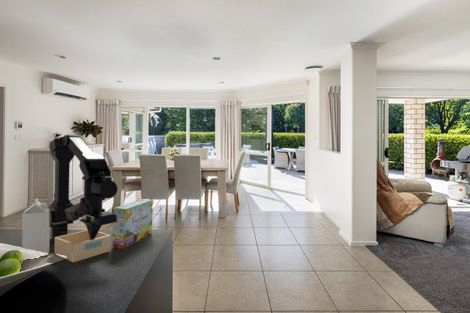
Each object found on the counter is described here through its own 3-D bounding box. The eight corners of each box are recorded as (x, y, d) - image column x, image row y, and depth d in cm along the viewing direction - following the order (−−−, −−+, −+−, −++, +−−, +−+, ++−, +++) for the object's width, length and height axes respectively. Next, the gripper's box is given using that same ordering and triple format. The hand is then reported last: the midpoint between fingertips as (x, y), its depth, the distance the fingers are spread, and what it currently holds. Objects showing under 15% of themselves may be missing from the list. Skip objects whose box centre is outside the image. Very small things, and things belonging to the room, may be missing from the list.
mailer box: (54, 254, 104) (54, 237, 104) (90, 244, 115) (90, 229, 115) (71, 262, 98) (71, 243, 98) (108, 251, 109) (108, 234, 109)
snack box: (125, 249, 111) (125, 208, 110) (111, 248, 112) (111, 207, 111) (152, 233, 132) (152, 198, 131) (140, 232, 133) (141, 198, 132)
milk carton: (22, 259, 99) (21, 202, 99) (25, 252, 106) (25, 198, 105) (47, 256, 103) (47, 200, 102) (49, 249, 109) (49, 197, 108)
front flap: (72, 261, 98) (73, 244, 97) (108, 250, 109) (110, 234, 108) (73, 262, 97) (74, 244, 97) (109, 251, 108) (111, 235, 108)
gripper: (54, 193, 100) (53, 240, 101) (85, 201, 90) (84, 253, 91) (86, 189, 110) (86, 232, 110) (118, 196, 99) (117, 243, 100)
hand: (92, 240), depth 103 cm, fingers closed, pressing on front flap
